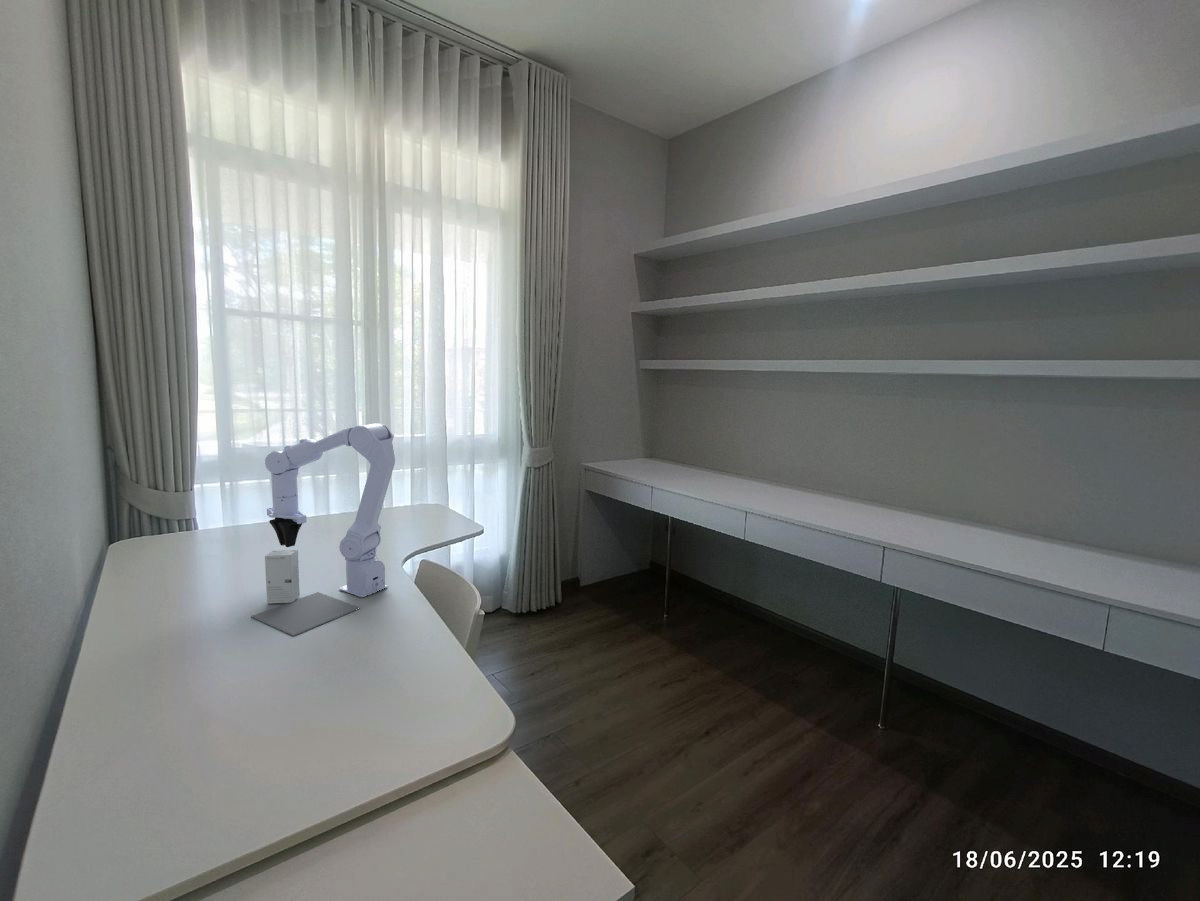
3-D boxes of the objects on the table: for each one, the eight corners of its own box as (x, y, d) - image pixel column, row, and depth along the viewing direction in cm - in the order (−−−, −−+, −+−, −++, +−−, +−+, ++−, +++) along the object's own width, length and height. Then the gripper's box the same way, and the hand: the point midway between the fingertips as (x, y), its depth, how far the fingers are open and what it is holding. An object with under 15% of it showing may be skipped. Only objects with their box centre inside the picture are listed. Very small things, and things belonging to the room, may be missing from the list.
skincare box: (266, 604, 123) (262, 556, 122) (275, 597, 128) (271, 550, 126) (293, 602, 124) (289, 554, 123) (301, 595, 129) (298, 549, 127)
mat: (359, 608, 123) (359, 607, 123) (293, 636, 109) (293, 635, 109) (317, 593, 131) (317, 592, 131) (251, 617, 117) (251, 615, 117)
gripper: (253, 494, 134) (256, 544, 135) (285, 502, 127) (288, 554, 129) (281, 489, 140) (283, 537, 142) (313, 497, 133) (315, 547, 135)
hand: (287, 545), depth 136 cm, fingers closed
